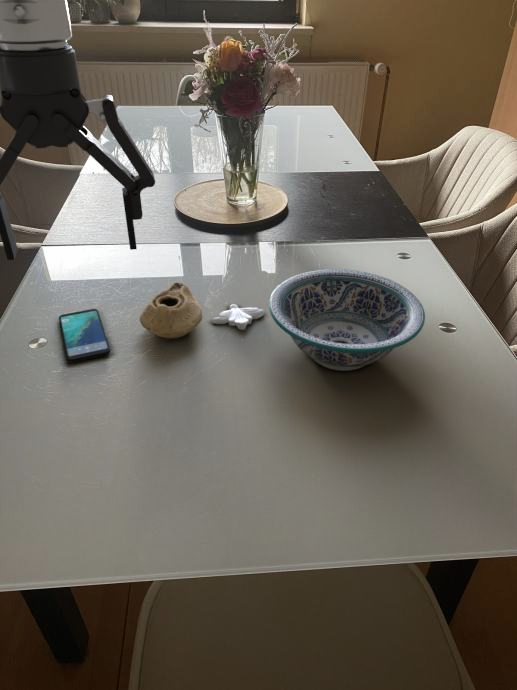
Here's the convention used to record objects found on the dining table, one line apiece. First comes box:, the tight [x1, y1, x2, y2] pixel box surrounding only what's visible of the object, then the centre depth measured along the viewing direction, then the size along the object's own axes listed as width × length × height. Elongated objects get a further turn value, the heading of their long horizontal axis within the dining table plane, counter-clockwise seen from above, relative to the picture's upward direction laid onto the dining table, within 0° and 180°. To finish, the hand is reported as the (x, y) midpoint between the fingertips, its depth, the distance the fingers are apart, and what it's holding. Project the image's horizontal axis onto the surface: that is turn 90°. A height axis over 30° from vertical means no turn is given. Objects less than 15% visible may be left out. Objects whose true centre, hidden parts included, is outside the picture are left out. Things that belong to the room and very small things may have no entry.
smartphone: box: [58, 308, 111, 363], centre depth 95 cm, size 7×1×15 cm
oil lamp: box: [139, 281, 203, 339], centre depth 96 cm, size 11×15×8 cm
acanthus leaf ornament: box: [212, 303, 265, 331], centre depth 100 cm, size 8×7×2 cm
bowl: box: [268, 268, 426, 372], centre depth 90 cm, size 25×25×10 cm
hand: (74, 250), depth 63 cm, fingers open, 13 cm apart
